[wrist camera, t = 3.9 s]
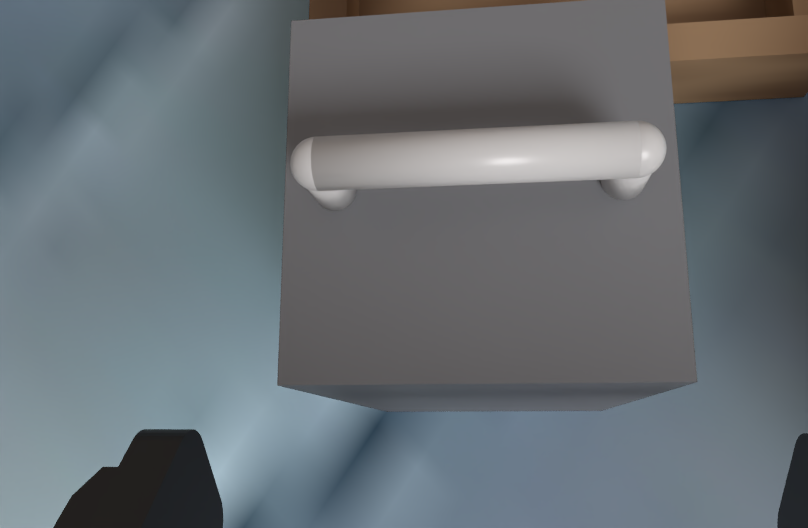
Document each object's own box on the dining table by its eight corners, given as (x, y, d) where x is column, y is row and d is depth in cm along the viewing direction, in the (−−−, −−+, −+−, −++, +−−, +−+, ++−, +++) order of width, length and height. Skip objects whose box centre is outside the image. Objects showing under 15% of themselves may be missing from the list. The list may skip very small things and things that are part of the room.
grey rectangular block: (386, 411, 20) (241, 376, 9) (388, 211, 21) (262, -37, 10) (601, 410, 19) (729, 372, 8) (589, 203, 21) (687, -72, 10)
